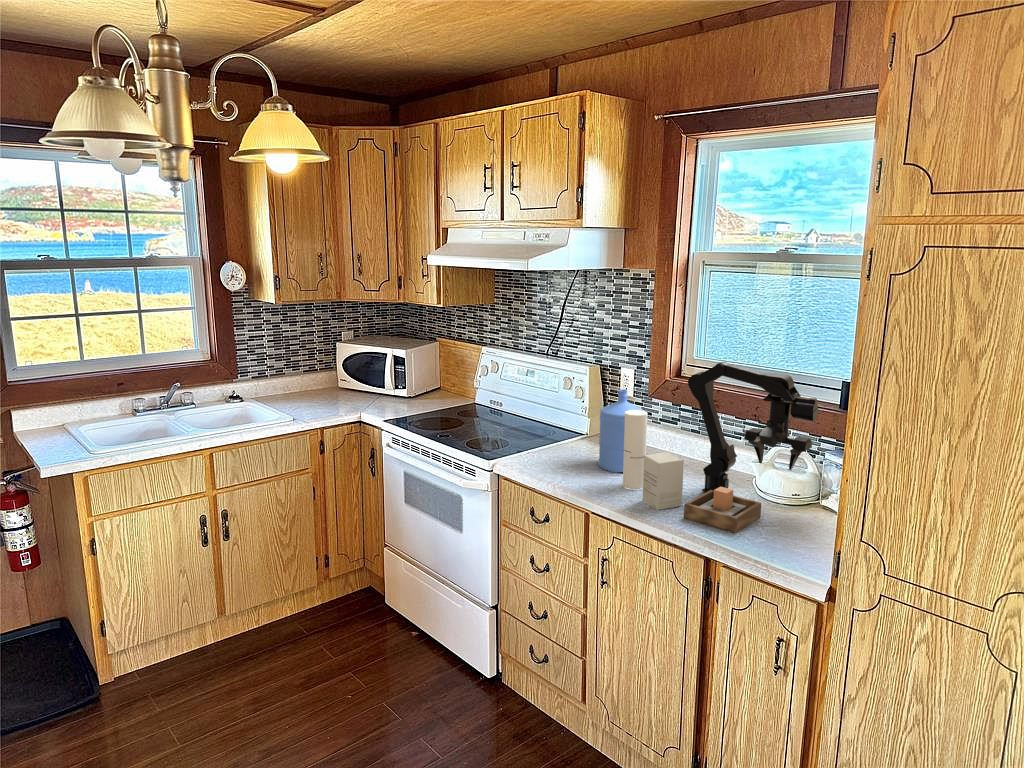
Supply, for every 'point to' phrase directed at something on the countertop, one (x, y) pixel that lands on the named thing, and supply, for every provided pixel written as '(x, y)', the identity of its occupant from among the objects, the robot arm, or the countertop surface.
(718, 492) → the block
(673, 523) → the countertop surface
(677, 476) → the supplement box
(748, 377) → the robot arm
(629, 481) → the cylindrical container
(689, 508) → the tray
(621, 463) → the water jug
